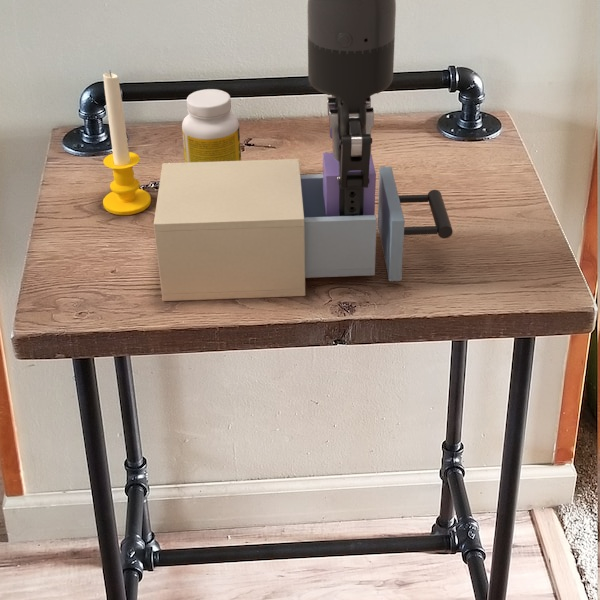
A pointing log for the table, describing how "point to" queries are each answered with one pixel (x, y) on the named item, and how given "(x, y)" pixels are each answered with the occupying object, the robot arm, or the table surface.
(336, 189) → the block
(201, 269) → the drawer cabinet
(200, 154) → the pill bottle
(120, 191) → the candle
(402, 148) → the table surface
